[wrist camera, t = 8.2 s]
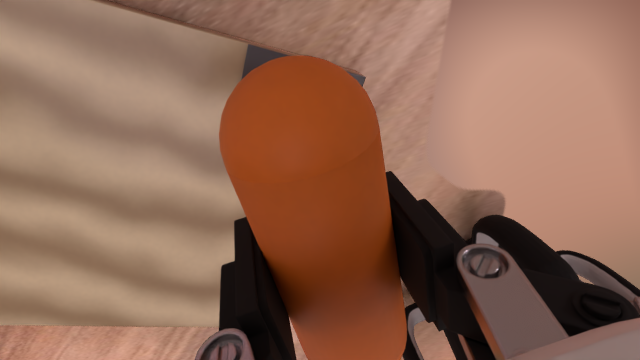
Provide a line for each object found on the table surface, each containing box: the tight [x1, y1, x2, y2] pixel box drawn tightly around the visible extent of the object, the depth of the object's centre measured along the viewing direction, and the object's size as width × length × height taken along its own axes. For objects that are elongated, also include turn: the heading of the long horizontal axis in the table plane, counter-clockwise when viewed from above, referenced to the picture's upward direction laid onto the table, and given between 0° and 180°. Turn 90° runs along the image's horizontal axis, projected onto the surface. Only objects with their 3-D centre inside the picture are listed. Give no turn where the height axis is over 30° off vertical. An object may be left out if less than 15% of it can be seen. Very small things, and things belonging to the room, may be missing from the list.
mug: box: [403, 215, 640, 360], centre depth 29 cm, size 16×16×12 cm
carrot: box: [219, 56, 407, 360], centre depth 11 cm, size 14×4×4 cm, turn 13°
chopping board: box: [0, 0, 366, 327], centre depth 22 cm, size 22×20×2 cm
